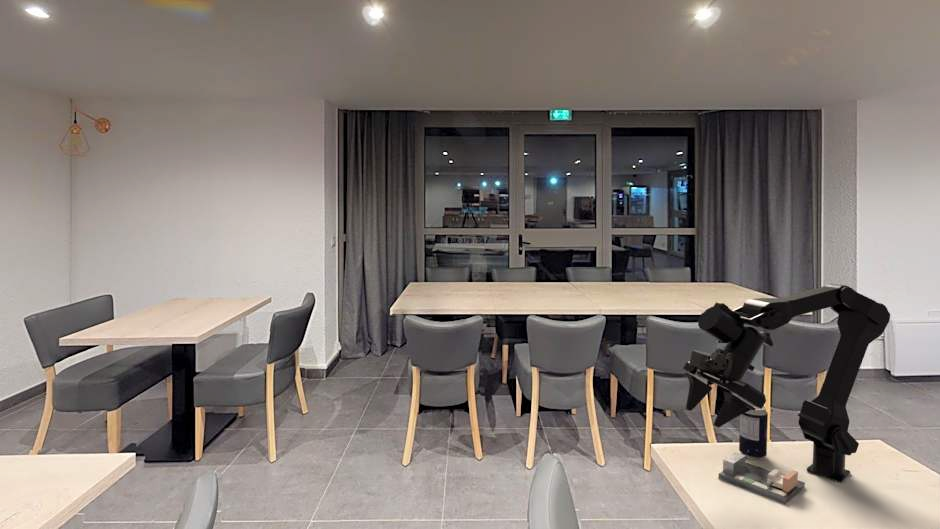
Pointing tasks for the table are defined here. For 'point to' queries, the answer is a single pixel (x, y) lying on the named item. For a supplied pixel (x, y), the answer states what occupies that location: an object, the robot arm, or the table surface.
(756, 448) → the beverage can
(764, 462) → the table surface
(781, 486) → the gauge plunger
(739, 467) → the frame
